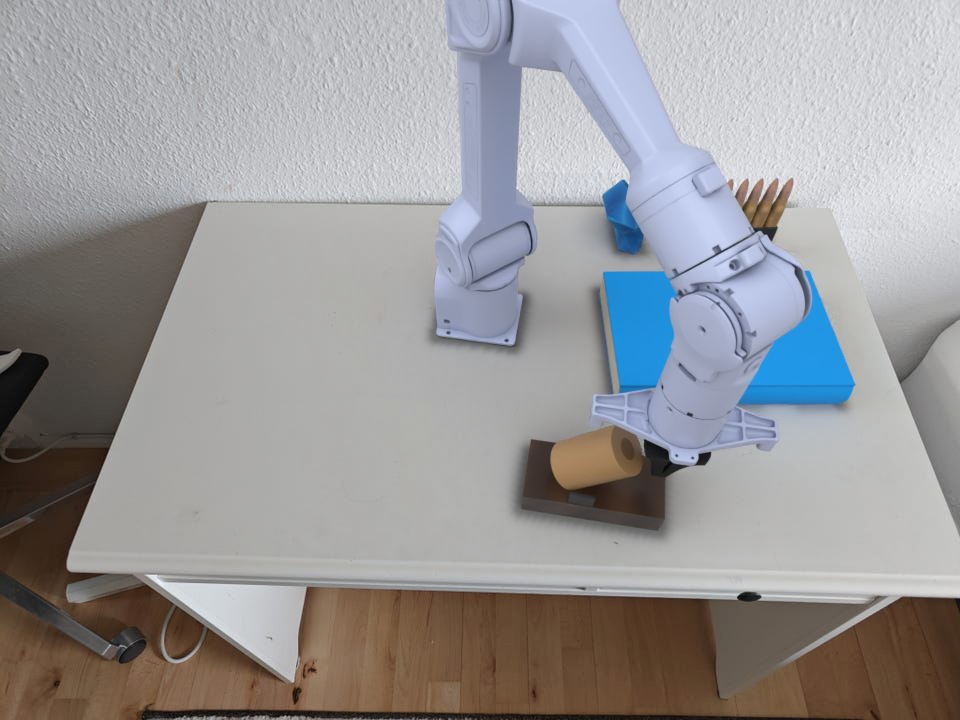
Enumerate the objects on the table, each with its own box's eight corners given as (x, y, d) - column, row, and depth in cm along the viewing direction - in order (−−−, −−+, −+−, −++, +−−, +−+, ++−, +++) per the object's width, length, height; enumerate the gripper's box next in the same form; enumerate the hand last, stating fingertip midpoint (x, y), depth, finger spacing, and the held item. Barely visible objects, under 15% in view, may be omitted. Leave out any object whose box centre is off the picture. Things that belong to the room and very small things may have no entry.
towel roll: (580, 498, 61) (547, 478, 58) (583, 454, 64) (552, 432, 61) (643, 484, 56) (610, 462, 54) (644, 437, 59) (613, 413, 57)
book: (601, 271, 76) (810, 266, 76) (596, 294, 80) (796, 290, 80) (621, 391, 67) (860, 386, 66) (614, 412, 70) (842, 407, 70)
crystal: (651, 163, 84) (677, 207, 75) (642, 222, 89) (665, 269, 80) (595, 166, 83) (615, 210, 74) (589, 224, 89) (606, 272, 80)
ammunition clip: (761, 246, 84) (798, 172, 74) (765, 256, 83) (802, 183, 73) (681, 247, 84) (706, 174, 74) (684, 257, 83) (710, 184, 73)
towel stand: (521, 508, 63) (523, 489, 60) (529, 452, 67) (531, 430, 63) (658, 530, 62) (669, 512, 58) (658, 471, 66) (669, 450, 62)
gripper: (597, 418, 45) (575, 494, 57) (807, 449, 44) (742, 520, 55) (603, 341, 49) (582, 426, 61) (796, 366, 48) (738, 448, 59)
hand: (658, 466), depth 58 cm, fingers closed
